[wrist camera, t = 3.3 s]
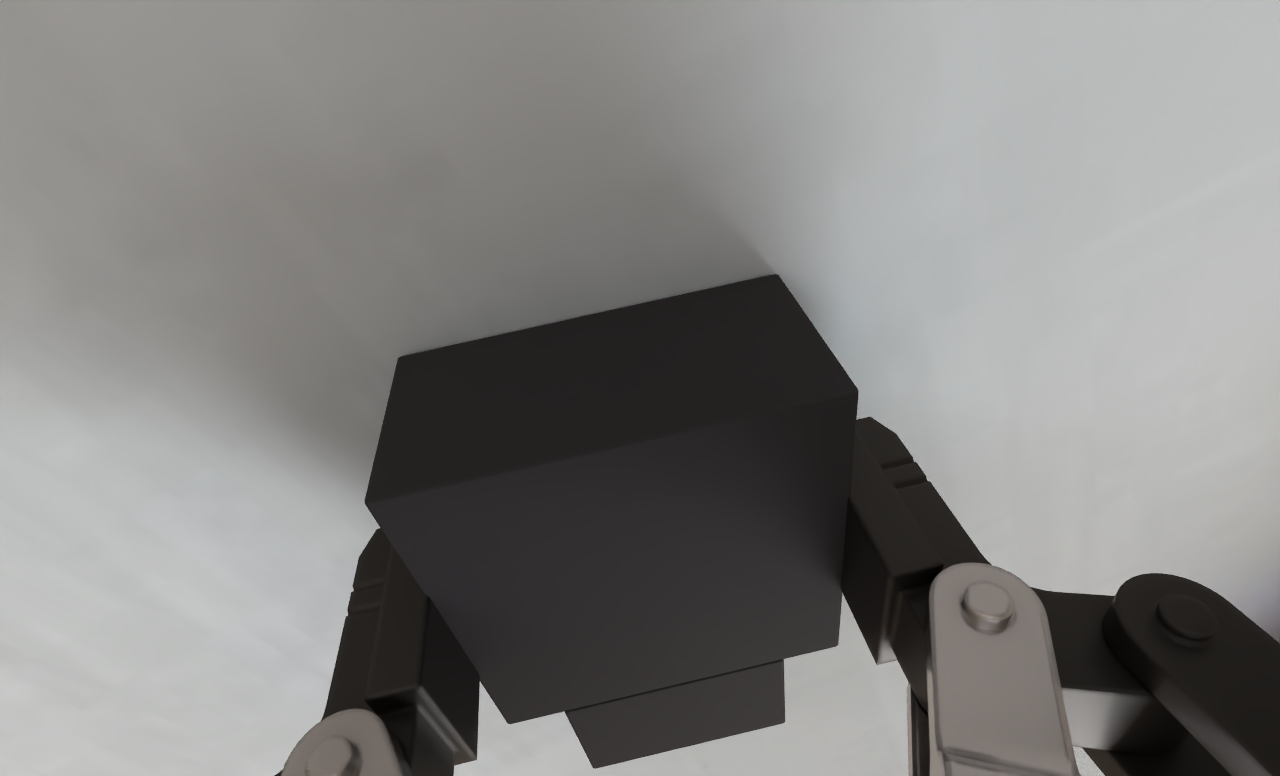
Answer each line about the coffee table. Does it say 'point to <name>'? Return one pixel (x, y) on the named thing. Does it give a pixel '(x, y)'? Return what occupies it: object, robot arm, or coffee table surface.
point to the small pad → (629, 511)
